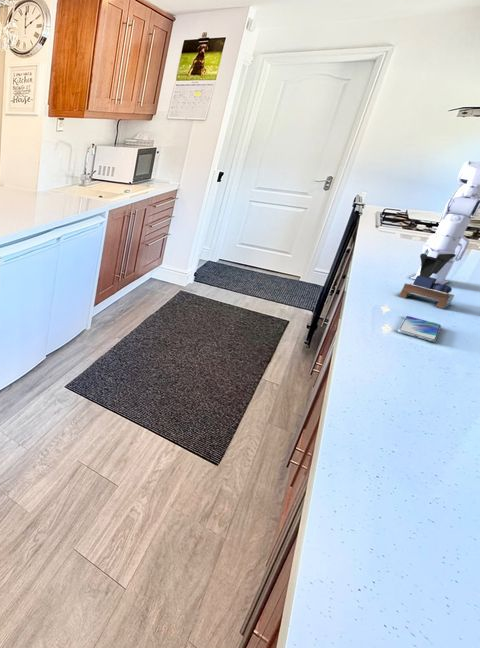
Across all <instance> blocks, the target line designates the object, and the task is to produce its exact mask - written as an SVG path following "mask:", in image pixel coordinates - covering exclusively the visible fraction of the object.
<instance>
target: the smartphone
mask: <svg viewBox="0 0 480 648" xmlns="http://www.w3.org/2000/svg"><path fill="white" fill-rule="evenodd" d="M441 327H442V325H441V324H440V323H436V322H433V321H429V320H425V319H422V318H418V317H414V316H409V315H406V316H405V317H404V319H403V321H402V322H401V324H400V325H399V327H398V329H397V331H398V333H401V334H405V335H408V336H411V337H414V338H418V339H422V340H424V341H429V342H433V343H434V342H436V341H437V339H438V335H439V333H440V331H441Z"/></svg>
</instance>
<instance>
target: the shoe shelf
mask: <svg viewBox="0 0 480 648" xmlns="http://www.w3.org/2000/svg"><path fill="white" fill-rule="evenodd" d="M412 284H413V283H404V284H403V287H402V288H401V291H400V293H399V295H398V297H400V298H403V299H406V298H408V297H410V296H412V295H413V294H414V295H418V296H422V297H425V298H430V299H432V300H436V301H438V302H437V304H436V306H435V307H436V308H439V309H441V310H443V309H445V308H447V307H448V306H449V305H451V303H452V301H453V299H454V297H456V296H455V294H452V293H448V294H444V293H440V292H437V291H433V290H429V289H425V288H422V287H418V286H414V285H412Z"/></svg>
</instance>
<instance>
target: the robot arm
mask: <svg viewBox="0 0 480 648" xmlns="http://www.w3.org/2000/svg"><path fill="white" fill-rule="evenodd" d="M456 182H457V184H458V185H460V187H459V188H457V190H456V192H455V193H454V196H453V197H451V198H449V200H448V201H447V203H446V205H445V208H444V210H443V214H442V216H441V221H440V222H439V224H438V226H437V228H436V231H435V233H432V234H431V235H430V236H429V237H428V239H427V241H426V243H425V244H423V245H422V250H421V254H420V255H419V258H420V262H421V263H420V266H419V268H418V269H417V270H418V271H417V273H416V274H415V275H413V276H411V277H410V279H412V280H415V279H416V277H417V276H419V275H420V276H423V277H427V278H429V277H431V278H435V279H437V280H436V282H435V283H439V284H443V285H446V284H447V283H449V280H448V279H446V278H447V276H448V274H449V273H450V271H451V269H452V267H453V265H454V263H455V262H459V261H461V260H462V258H463V256H464V255H465V253H466V251H467V249H468V247H469V244H470V240H469V238H467V237H466V236H465V235H464V234H465V233H466V230H467V228H468V227H469V224H470V223H471V220H472V219H474V218H475V216H476V215H477V213H478V212H479V210H480V161H471V160H467V161H465V162H464V163H463V164H462V167H461V169H460V171H459V173H458V175H457V180H456Z"/></svg>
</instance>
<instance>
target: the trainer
mask: <svg viewBox="0 0 480 648" xmlns="http://www.w3.org/2000/svg"><path fill="white" fill-rule="evenodd" d="M436 280H437V279H435V278H431V277H429V278H427V277H423V276H420V275H419V276H417V277H416V279H414V281H413V283H411V284H412V285H414V286H418V287H422V288H425V289H429V290H433V291H437V292H440V293H444V294H450V293H451V292H452V290H453V288H452V287H451V286H450V285H446V284H439V283H435V282H436Z"/></svg>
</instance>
